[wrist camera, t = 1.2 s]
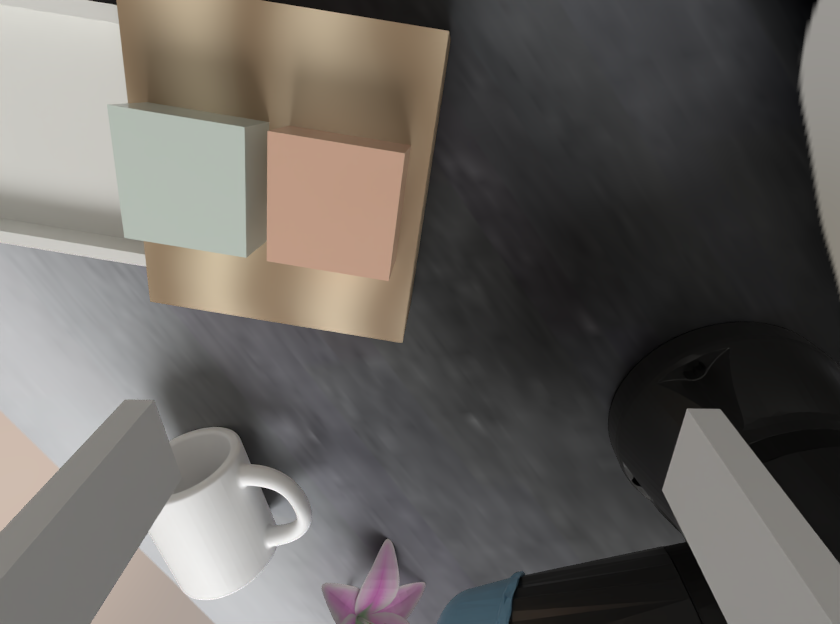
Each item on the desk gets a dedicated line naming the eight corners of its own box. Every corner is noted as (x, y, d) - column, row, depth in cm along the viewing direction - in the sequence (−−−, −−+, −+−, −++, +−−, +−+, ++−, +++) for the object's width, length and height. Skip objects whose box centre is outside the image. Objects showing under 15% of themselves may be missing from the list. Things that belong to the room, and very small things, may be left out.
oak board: (450, 40, 26) (449, 31, 21) (410, 307, 33) (402, 343, 28) (174, -5, 26) (113, -24, 21) (192, 271, 33) (150, 301, 28)
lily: (427, 617, 49) (460, 694, 39) (311, 663, 46) (318, 758, 36) (404, 507, 47) (434, 560, 38) (284, 547, 44) (284, 615, 35)
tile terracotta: (410, 145, 23) (405, 153, 21) (395, 260, 26) (388, 281, 23) (289, 125, 23) (267, 130, 21) (286, 242, 26) (266, 261, 23)
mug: (208, 517, 43) (158, 604, 36) (165, 430, 39) (99, 508, 32) (335, 508, 42) (310, 597, 34) (304, 416, 37) (268, 495, 30)
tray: (175, 16, 26) (130, 6, 22) (191, 257, 32) (158, 279, 29) (-96, -28, 26) (-185, -46, 22) (-29, 221, 32) (-90, 239, 29)
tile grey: (269, 122, 23) (244, 127, 21) (268, 239, 26) (246, 257, 23) (147, 102, 23) (106, 104, 21) (159, 221, 26) (124, 237, 23)
